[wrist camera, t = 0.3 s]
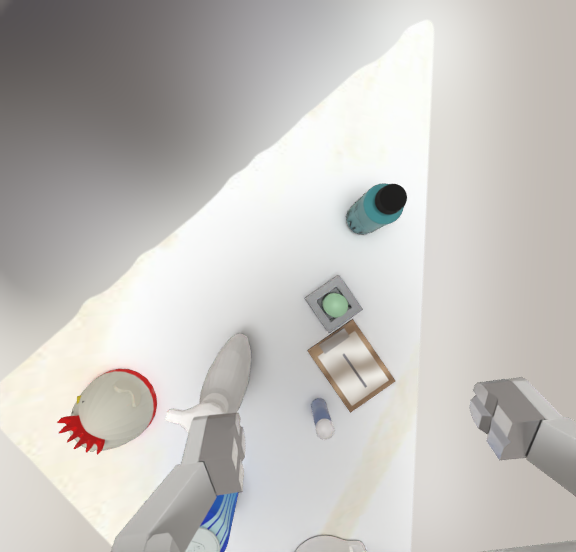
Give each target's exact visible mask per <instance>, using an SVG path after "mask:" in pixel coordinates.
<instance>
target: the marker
mask: <svg viewBox="0 0 576 552" xmlns="http://www.w3.org/2000/svg"><path fill="white" fill-rule="evenodd" d="M311 407H312V412H313V417H314V422H315V427H316V433H317V435H318V437H320V438H321V439H329V438H331V437H332V436H333V434H334V426H333V424H332V421H331V418H330V415H329V412H328V409H327V406H326V403H325V401H324V400H323V399H320V398H318V399H315V400H314V401H313V402H312V404H311Z"/></svg>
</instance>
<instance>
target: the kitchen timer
mask: <svg viewBox="0 0 576 552" xmlns="http://www.w3.org/2000/svg"><path fill="white" fill-rule="evenodd" d="M156 407H157V400H156V394H155V392H154V389H153V386H152V385H151V384H150V383H149V381H148V380H147V379H146V378H145V377H144V376H142V375H141V374H139V373H138V372H135V371H132V370H129V369H116V370H112V371H109V372H107V373H105V374H103V375H101V376H100V377H98V378H96V379H95V380H94V381H92V382H91V383H90V385H89V386H88V387H87V388H86V389H85V390H84V391H83V392H82V394H81V395H80V396H78V397H77V402H76V403H75V405H74V407H73V409H72V413H71V416H67V417H63V418H61V419H60V420H59V421H58V422H57V423H65V424H66V426H65V427H64V428H63V429H62V430H61V431H60V432H59V433H63V432H67V431H70V435H71V436H70V438H69V439H68V441H67V442H70V441H71V440H73V439H75V440H76V442H77V444H76V445H75V447H74V449H76V448H78V447H80V446H83V447H85V448H86V452H88V451H90V452H93V451H95V450H97V455H98V454H99V453H100V452H101V451H102V450H108V449H112V448H116V447H119V446H121V445H124V444H126V443H128V442H129V441H131V440H133V439H135V438H136V437H138V436H139V435H140V434H141V433H142V432H143V431H144V430H145V429H146V428H147V427H148V426H149V425H150V423H151V422H152V420H153V418H154V416H155V412H156Z"/></svg>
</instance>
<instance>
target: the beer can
mask: <svg viewBox="0 0 576 552" xmlns="http://www.w3.org/2000/svg"><path fill="white" fill-rule="evenodd" d="M216 497H217V498H216V499H215V501H214V503H213V505H212V506H211V508H210V510H209V511H208V513H207V515H206V517H205V518H204V520H203V522H202V523H201V525H200V527H199V529H198V530H197V532H196V534H195V535H194V537H193V539H192V541H191V542H190V544H189V546H188V547H187V549H186V551H185V552H224V551H225V549H226V547H227V544H228V540H229V536H230V531H231V526H232V521H233V516H234V512H235V507H236V502H237V497H238V492H237V493H230V494H224V495H217V496H216Z"/></svg>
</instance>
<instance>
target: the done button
mask: <svg viewBox="0 0 576 552" xmlns="http://www.w3.org/2000/svg"><path fill="white" fill-rule="evenodd" d="M322 307H323V309H324V311H325V312H326V313H327V314H328V315H330V316H332V317H341V316H343V315H344V314H345V313H346V311H347V309H348V302H347V300H346V298H345V297H344V296H342V295H340V294H338V293H329V294H327V295H326V296H325V297H324V298H323V300H322Z"/></svg>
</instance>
